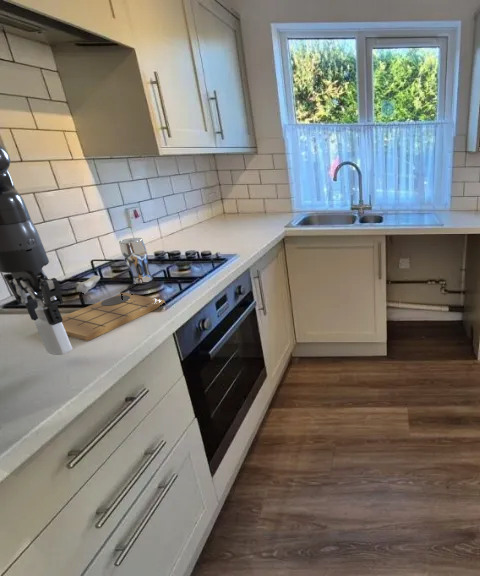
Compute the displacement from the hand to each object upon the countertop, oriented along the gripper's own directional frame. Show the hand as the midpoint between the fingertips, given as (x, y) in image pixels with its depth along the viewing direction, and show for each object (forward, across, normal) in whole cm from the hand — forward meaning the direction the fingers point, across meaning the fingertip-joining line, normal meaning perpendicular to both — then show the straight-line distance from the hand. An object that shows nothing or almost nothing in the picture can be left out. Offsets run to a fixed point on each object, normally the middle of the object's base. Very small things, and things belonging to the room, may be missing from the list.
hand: (47, 320), depth 78 cm
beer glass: (+10, -28, +40) cm, 50 cm away
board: (+10, -13, +18) cm, 25 cm away
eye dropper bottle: (+8, 0, 0) cm, 8 cm away
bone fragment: (+10, -40, +30) cm, 51 cm away
